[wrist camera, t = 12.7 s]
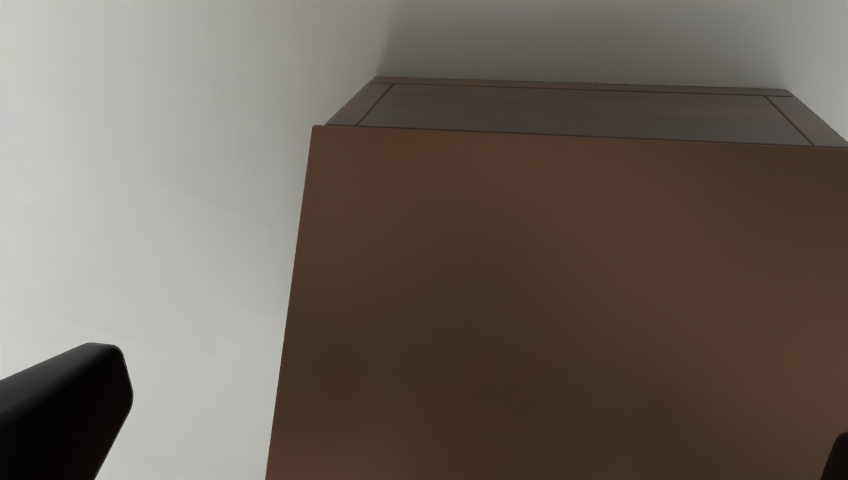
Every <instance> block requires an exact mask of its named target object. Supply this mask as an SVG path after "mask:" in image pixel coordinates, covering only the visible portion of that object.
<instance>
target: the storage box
mask: <svg viewBox="0 0 848 480" xmlns="http://www.w3.org/2000/svg"><path fill="white" fill-rule="evenodd" d="M324 126H347V127H369V128H392V129H414V130H436V131H459V132H481V133H503V134H526V135H548V136H570V137H593V138H615V139H637V140H660V141H682V142H704V143H727V144H749V145H772V146H794V147H816V148H839V149H848V142H847V141H846V140H845V139H843V138H842V137H841V136H840V135H839V134H838V133H837V132H835V131H834V130H833V129H832V128H831V127H830V126H829V125H828V124H826V123H825V122H824V121H823V120H822V119H821V118H820V117H818V116H817V115H816V114H815V113H814V112H813V111H812V110H811V109H809V108H808V107H807V106H806V105H805V104H804V103H803V102H801V101H800V100H799V99H798V98H797V97H795V96H794V95H793V94H792V93H791V92H790V91H788V90H786V89H756V88H724V87H692V86H660V85H628V84H595V83H563V82H531V81H499V80H467V79H435V78H403V77H374V78H373V79H372V80H371V81H370V82H369V83H367V84H366V85H365V86H364V87H363V88H362V89H361V90H360V91H359V92H358V93H357V94H356V95H355V96H354V97H353V98H352V99H350V100H349V101H348V102H347V103H346V104H345V105H344V106H343V107H342V108H341V109H340V110H339V111H338V112H337V113H336V114H335V115H334V116H333V117H332V118H331V119H330V120H329V121H328V122H327V123H326V124H325V125H324Z"/></svg>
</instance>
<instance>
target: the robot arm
mask: <svg viewBox="0 0 848 480" xmlns="http://www.w3.org/2000/svg"><path fill="white" fill-rule="evenodd" d="M132 403H133V389H132V385H131V381H130V378H129V374H128V370H127V366H126V363H125V359H124V355H123V353H122V351H121V350H120V348H119V347H117V346H115V345H111V344H102V343H85V344H83V345H80V346H78V347H76V348H74V349H71V350H69V351H67V352H64V353H62V354H60V355H57V356H55V357H53V358H51V359H48V360H46V361H44V362H41V363H39V364H37V365H35V366H32V367H30V368H28V369H25V370H23V371H21V372H18V373H16V374H14V375H12V376H9V377H7V378H5V379H2V380H0V480H95V478H96V476H97V474H98V472H99V470H100V468H101V466H102V464H103V463H104V461H105V459H106V457H107V455H108V453H109V451H110V449H111V447H112V445H113V443H114V441H115V439H116V437H117V435H118V433H119V431H120V430H121V428H122V426H123V424H124V422H125V420H126V418H127V416H128V414H129V412H130V410H131V407H132ZM820 480H848V432H843V433H841V434H839V435H838V436H837V437H836V439H835V441H834V443H833V446H832V449H831V451H830V454H829V457H828V459H827V462H826V465H825V467H824V470H823V473H822V475H821V478H820Z"/></svg>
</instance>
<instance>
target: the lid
mask: <svg viewBox="0 0 848 480" xmlns="http://www.w3.org/2000/svg"><path fill="white" fill-rule="evenodd" d="M843 432H848V149H839V148H816V147H794V146H772V145H749V144H727V143H704V142H682V141H660V140H637V139H615V138H593V137H570V136H548V135H526V134H503V133H481V132H459V131H436V130H414V129H392V128H369V127H347V126H324V125H313V127H312V133H311V141H310V148H309V156H308V163H307V171H306V178H305V186H304V193H303V201H302V208H301V216H300V223H299V231H298V238H297V246H296V253H295V261H294V268H293V276H292V283H291V290H290V298H289V305H288V313H287V320H286V328H285V335H284V343H283V350H282V358H281V365H280V373H279V380H278V388H277V395H276V403H275V410H274V418H273V425H272V433H271V440H270V448H269V455H268V463H267V470H266V478H265V480H820V478H821V475H822V473H823V470H824V467H825V465H826V462H827V459H828V457H829V454H830V451H831V449H832V446H833V443H834V441H835V439H836V437H837V436H838V435H839V434H841V433H843Z"/></svg>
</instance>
